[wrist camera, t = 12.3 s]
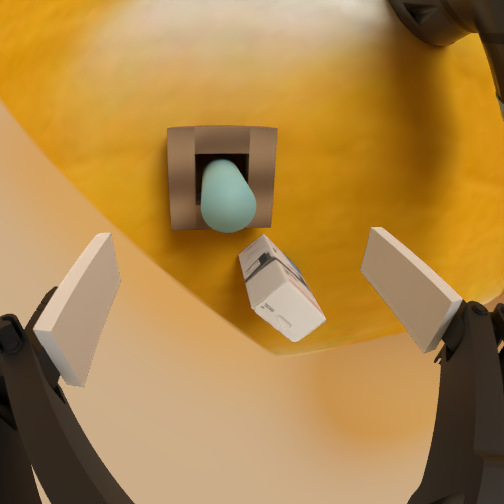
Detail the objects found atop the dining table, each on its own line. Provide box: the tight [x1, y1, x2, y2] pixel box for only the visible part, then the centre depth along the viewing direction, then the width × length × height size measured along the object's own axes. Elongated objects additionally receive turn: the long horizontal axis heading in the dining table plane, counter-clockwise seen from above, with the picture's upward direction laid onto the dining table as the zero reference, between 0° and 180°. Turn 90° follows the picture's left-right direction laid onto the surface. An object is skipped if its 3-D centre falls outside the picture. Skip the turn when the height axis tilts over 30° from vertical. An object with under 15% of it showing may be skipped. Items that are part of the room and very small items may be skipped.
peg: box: [201, 154, 256, 233], centre depth 25 cm, size 4×4×14 cm
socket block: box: [167, 126, 277, 231], centre depth 29 cm, size 11×11×5 cm
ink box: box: [238, 234, 326, 342], centre depth 34 cm, size 8×5×12 cm, turn 41°
